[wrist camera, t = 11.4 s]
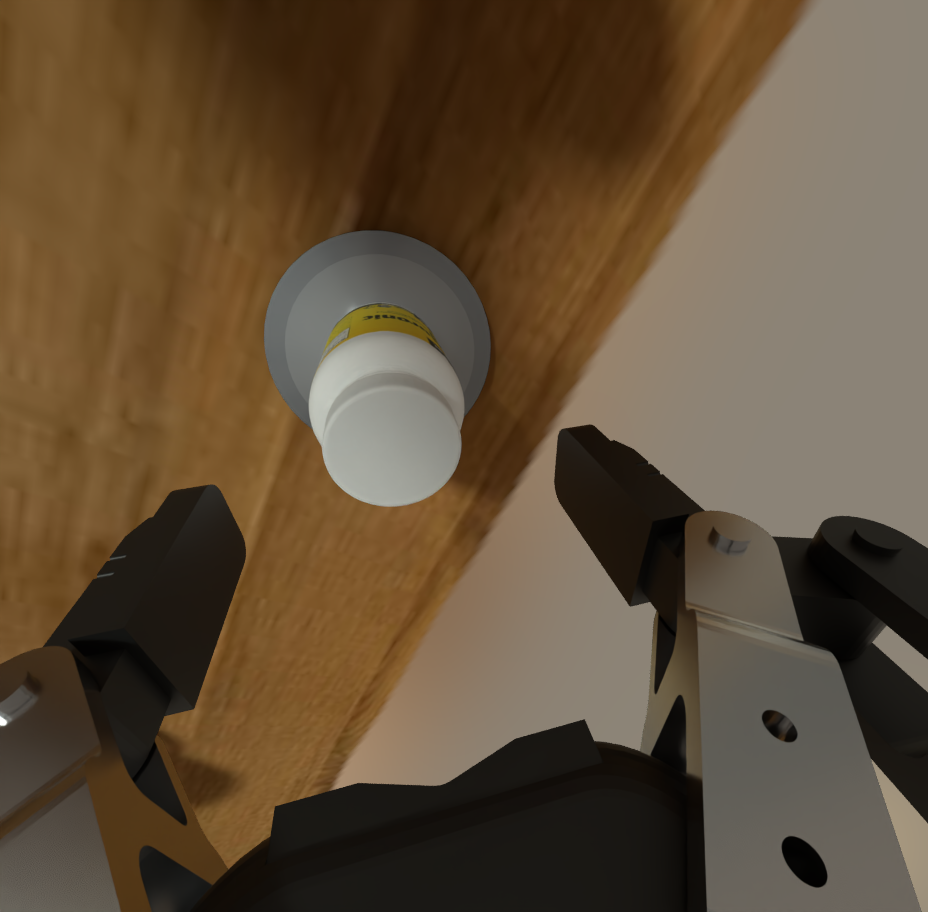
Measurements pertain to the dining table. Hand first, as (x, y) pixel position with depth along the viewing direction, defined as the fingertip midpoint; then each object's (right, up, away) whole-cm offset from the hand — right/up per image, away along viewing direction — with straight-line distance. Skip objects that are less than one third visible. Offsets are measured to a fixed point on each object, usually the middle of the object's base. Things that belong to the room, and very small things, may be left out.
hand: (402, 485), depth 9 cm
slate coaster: (-3, +6, +11) cm, 13 cm away
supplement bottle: (-3, +6, +10) cm, 12 cm away
